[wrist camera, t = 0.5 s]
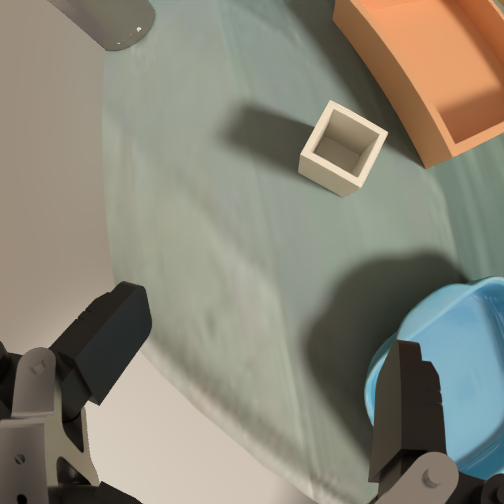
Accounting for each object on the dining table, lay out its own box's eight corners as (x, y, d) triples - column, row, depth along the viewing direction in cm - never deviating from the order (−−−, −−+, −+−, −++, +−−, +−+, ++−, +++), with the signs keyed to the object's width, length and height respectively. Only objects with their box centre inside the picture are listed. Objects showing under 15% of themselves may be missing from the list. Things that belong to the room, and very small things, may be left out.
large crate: (332, 19, 32) (337, -14, 25) (449, -6, 29) (465, -31, 22) (425, 168, 32) (452, 157, 25) (529, 117, 29) (558, 104, 23)
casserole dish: (529, 421, 32) (550, 440, 25) (423, 498, 35) (434, 526, 28) (471, 232, 32) (504, 234, 25) (321, 339, 36) (328, 364, 28)
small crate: (343, 198, 34) (360, 188, 25) (297, 172, 34) (300, 154, 25) (365, 154, 33) (388, 132, 24) (321, 130, 34) (330, 100, 25)
